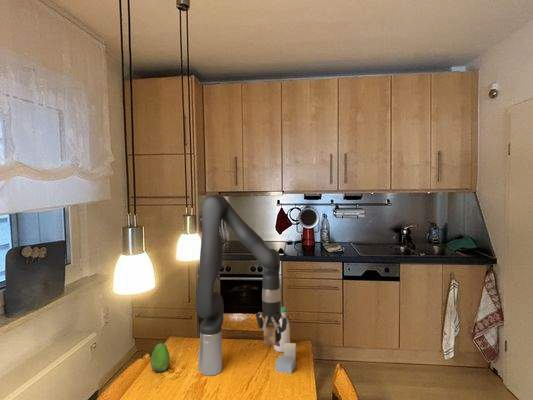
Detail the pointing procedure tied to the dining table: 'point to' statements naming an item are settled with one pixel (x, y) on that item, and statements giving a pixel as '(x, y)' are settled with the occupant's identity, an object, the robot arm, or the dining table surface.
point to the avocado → (160, 358)
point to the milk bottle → (283, 334)
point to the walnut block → (270, 335)
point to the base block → (285, 364)
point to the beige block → (290, 349)
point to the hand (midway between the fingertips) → (272, 339)
